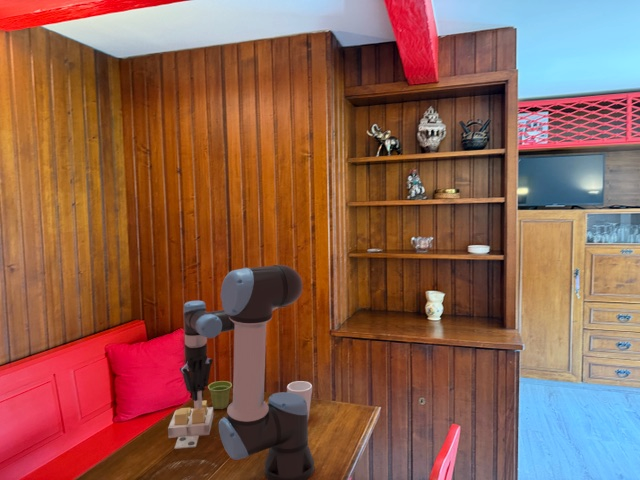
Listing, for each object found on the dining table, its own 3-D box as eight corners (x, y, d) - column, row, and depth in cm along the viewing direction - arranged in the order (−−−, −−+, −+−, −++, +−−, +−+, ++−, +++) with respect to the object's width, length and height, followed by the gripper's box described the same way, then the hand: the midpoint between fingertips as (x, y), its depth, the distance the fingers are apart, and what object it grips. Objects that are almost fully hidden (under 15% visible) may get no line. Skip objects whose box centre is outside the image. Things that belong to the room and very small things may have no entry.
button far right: (205, 415, 162) (205, 405, 161) (194, 416, 161) (194, 405, 161) (207, 410, 166) (206, 400, 165) (196, 411, 165) (196, 401, 165)
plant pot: (225, 399, 183) (225, 379, 182) (236, 406, 176) (235, 385, 175) (204, 405, 177) (204, 385, 176) (215, 414, 170) (214, 392, 169)
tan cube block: (189, 422, 161) (189, 412, 161) (178, 423, 161) (178, 413, 160) (191, 417, 165) (190, 407, 165) (180, 418, 165) (180, 408, 164)
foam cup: (309, 426, 159) (309, 392, 158) (285, 424, 161) (284, 390, 160) (314, 414, 169) (313, 381, 168) (291, 412, 170) (290, 380, 169)
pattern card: (195, 447, 147) (195, 445, 146) (174, 449, 146) (174, 447, 146) (198, 436, 153) (198, 434, 153) (178, 438, 153) (178, 436, 152)
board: (209, 434, 154) (208, 425, 154) (168, 438, 153) (167, 428, 152) (213, 415, 168) (213, 406, 168) (176, 418, 166) (175, 409, 166)
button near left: (186, 424, 155) (186, 414, 155) (175, 425, 155) (174, 414, 154) (188, 419, 159) (188, 408, 159) (177, 420, 158) (176, 409, 158)
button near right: (203, 423, 156) (203, 412, 156) (192, 424, 155) (191, 413, 155) (205, 418, 160) (204, 407, 159) (194, 418, 159) (193, 408, 159)
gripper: (204, 337, 163) (206, 398, 165) (173, 347, 152) (176, 411, 154) (217, 341, 158) (219, 403, 160) (186, 351, 148) (189, 418, 150)
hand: (198, 407), depth 157 cm, fingers closed
